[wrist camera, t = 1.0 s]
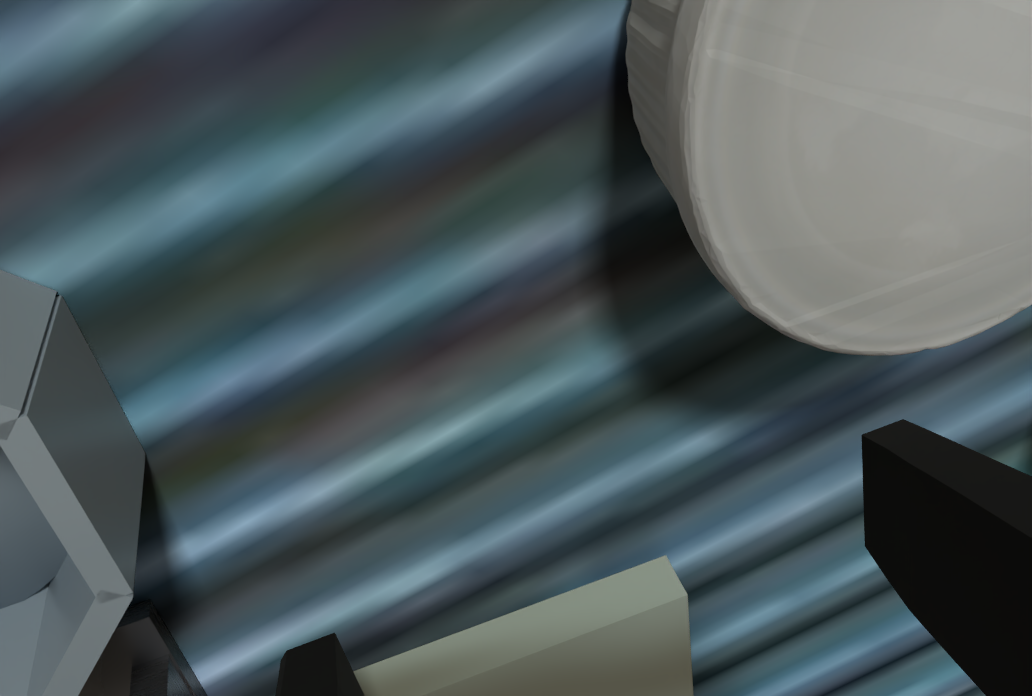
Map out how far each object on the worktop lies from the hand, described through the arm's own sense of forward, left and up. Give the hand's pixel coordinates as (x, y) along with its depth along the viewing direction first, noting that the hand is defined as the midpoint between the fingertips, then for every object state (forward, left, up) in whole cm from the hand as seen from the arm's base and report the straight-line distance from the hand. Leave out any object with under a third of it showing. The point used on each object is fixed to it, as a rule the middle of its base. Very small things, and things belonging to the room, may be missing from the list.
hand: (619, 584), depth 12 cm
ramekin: (+3, -9, -11) cm, 14 cm away
